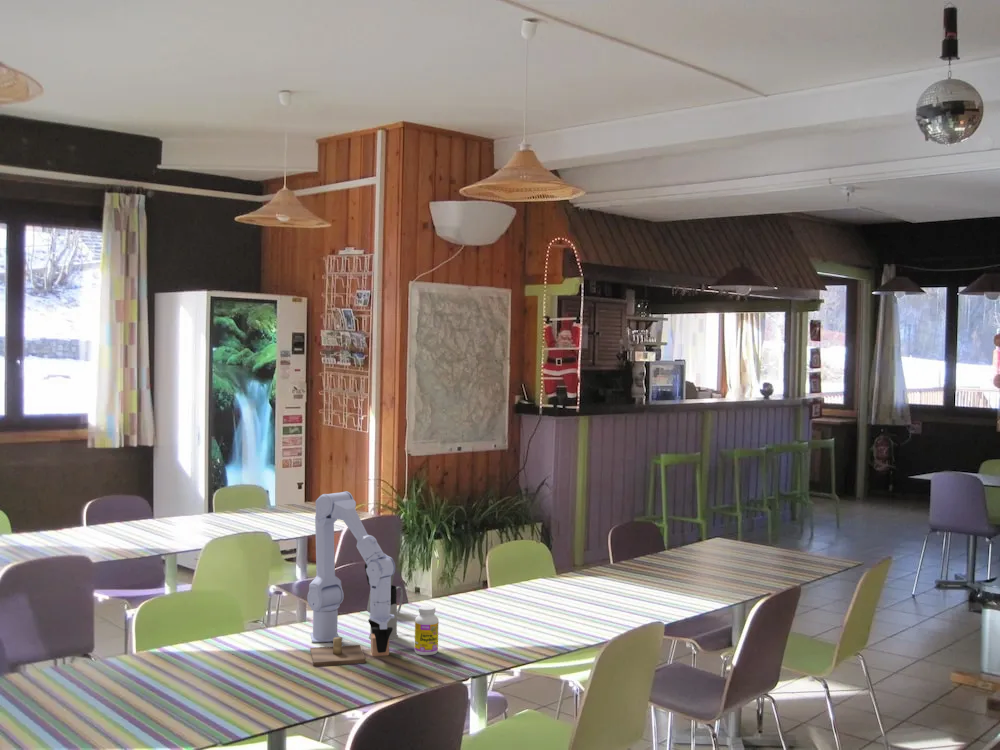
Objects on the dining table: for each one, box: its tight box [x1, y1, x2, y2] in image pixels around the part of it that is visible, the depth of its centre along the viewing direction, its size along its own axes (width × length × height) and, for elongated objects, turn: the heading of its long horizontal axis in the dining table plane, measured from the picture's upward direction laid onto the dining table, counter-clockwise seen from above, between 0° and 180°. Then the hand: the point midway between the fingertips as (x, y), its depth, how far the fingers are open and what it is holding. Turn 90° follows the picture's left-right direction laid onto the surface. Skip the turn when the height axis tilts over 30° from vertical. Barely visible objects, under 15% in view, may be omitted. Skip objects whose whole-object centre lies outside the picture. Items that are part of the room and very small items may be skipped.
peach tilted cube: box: [370, 634, 390, 657], centre depth 274 cm, size 5×5×5 cm
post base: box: [310, 636, 366, 667], centre depth 270 cm, size 14×14×5 cm
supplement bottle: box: [414, 605, 439, 656], centre depth 275 cm, size 7×7×13 cm
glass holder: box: [368, 584, 404, 642], centre depth 293 cm, size 9×14×15 cm, turn 152°
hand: (379, 648), depth 274 cm, fingers open, 7 cm apart
